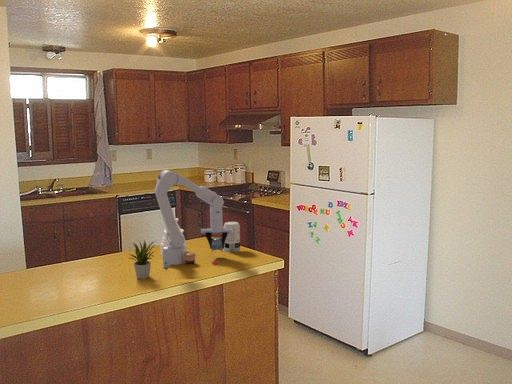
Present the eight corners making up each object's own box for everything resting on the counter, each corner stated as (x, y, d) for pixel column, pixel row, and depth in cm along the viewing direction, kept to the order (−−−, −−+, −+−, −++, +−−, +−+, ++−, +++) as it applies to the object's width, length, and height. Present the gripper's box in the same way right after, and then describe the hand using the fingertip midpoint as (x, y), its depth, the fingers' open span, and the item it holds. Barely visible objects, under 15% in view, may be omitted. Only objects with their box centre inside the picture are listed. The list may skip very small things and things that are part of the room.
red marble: (211, 267, 222) (211, 261, 221) (212, 265, 225) (211, 259, 224) (217, 267, 222) (217, 261, 221) (218, 265, 224) (218, 259, 224)
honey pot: (192, 252, 247) (191, 217, 245) (175, 258, 237) (173, 222, 234) (173, 249, 254) (171, 214, 252) (155, 254, 243) (154, 219, 241)
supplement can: (221, 251, 249) (220, 222, 246) (236, 249, 252) (236, 220, 250) (227, 255, 241) (226, 225, 239) (242, 253, 245) (242, 223, 242)
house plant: (168, 272, 215) (167, 236, 212) (153, 283, 202) (152, 244, 199) (139, 270, 219) (137, 234, 216) (122, 280, 205) (120, 242, 203)
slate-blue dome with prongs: (211, 252, 230) (210, 240, 229) (212, 249, 235) (212, 237, 234) (221, 252, 230) (221, 240, 229) (222, 249, 235) (222, 237, 233)
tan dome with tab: (183, 268, 221) (183, 255, 220) (185, 265, 226) (185, 252, 225) (194, 268, 221) (194, 255, 220) (196, 265, 226) (195, 252, 225)
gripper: (199, 221, 226) (200, 250, 228) (231, 221, 226) (231, 250, 228) (201, 218, 233) (202, 246, 235) (232, 218, 233) (232, 246, 235)
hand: (217, 248), depth 232 cm, fingers closed on slate-blue dome with prongs, 5 cm apart
